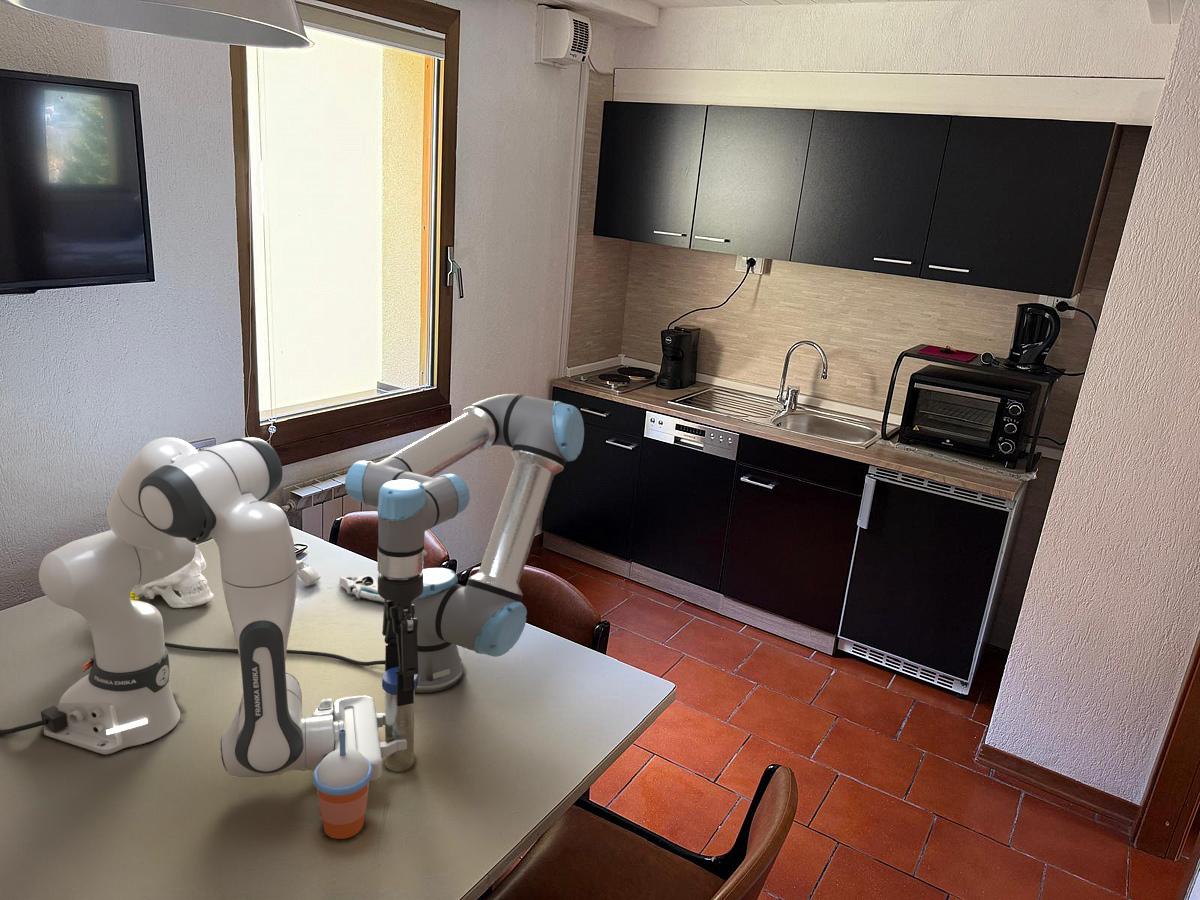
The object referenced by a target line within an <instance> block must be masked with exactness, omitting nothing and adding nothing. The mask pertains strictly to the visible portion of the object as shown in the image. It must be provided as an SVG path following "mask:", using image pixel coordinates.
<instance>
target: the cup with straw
mask: <svg viewBox="0 0 1200 900" xmlns="http://www.w3.org/2000/svg"><path fill="white" fill-rule="evenodd" d="M372 774H373V769H372V765H371V763H370V762H369V760H368V759H366V758H365V757H364V756H363V755H362V754H361V753H360V752H358V751H356V750H354V749H350V748H346V738H345V730H344V729H342V730H340V749H337V750H334V751H332V752H331V753H329V754H328V755H327V756H325V757H324V759H323V760H322V761H321V762H320V763H319V764H318V766H317V767H316V768H315V770H313V774H312V782H313V785H314V787H315V789H316V791H317V800H318V807H319V812H320V817H321V819H322V825H323V826H322V827H323V830H324V833H325V834H326V836H328V837H330V838H331V839H336V840H344V839H348V838H352V837H354V836H355V835H357V834H358V833H360V831H362V829H363V827H364V823H365V814H366V811H367V806H368V797H369V788H370V787H369V786H370V782H371V781H370V780H371V778H372Z"/></svg>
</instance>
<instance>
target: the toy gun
mask: <svg viewBox="0 0 1200 900" xmlns="http://www.w3.org/2000/svg"><path fill="white" fill-rule="evenodd" d="M338 583H339V586H340V587H341V588H343V589H345V590H346V593H347V594H348V595H354V596H355V598H356V599H361V598H362V599H365V600H369V601H375V602H380V603H384V598H382V597H381V596H380V595H379V594H378V580H376V578H375V577H374V576H372V575H369V574H368V575H362V576H361V575H360V576H350V577H345V576H340V577H339V581H338ZM367 583H370V584H369V585H366V584H367Z"/></svg>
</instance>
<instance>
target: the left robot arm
mask: <svg viewBox="0 0 1200 900" xmlns="http://www.w3.org/2000/svg"><path fill="white" fill-rule="evenodd" d="M282 479H283V466H282V461H281V459H280V457H279V455H278V453H277V451H276V450H275V448H274V447H273V446H272V445H271V444H270V443H268V442H267V441H265V440H264V439H261V438H259V437H249V436H248V437H238V438H233V439H230V440H227V441H224V442H220V443H218V444H216V445H212V446H209V447H206V448H203V449H199V450H197V449H196V448H195V447H194V446H193V445H192V444H190V443H189V442H187V441H185V440H183V439H181V438H178V437H172V436H164V437H159V438H155V439H152V440H150V441H149V442H148V443H146V444H145V445H144V446H143V447H142V448H141V449H140V450H139V451H138V453H137V454H136V455H135V456H134V457H133V458H132V460H131V461H130V462H129V464H128V465H127V466H126V469H125V471H124V472H123V474H122V476H121V477H120V479H119V482H118V484H117V487H116V488H115V491H114V493H113V495H112V497H111V499H110V501H109V503H108V506H107V509H106V520H107V523H108V526H109V528H110V529H109V530H106V531H102V532H99V533H95V534H92V535H88V536H86V537H81V538H79V539H76V540H72V541H71V542H68V543H66V544H64V545H62V546H60V547H58V548H56V549H54V550H52V551H51V552H49V553H47V554H46V555H45V556H44V557H43V559H42V561H41V563H40V565H39V570H38V581H39V585H40V588H41V590H42V592H43V594H44V595H45V596H46V597H47V598H48V599H49V600H50V601H51V602H53V604H56V605H58V606H61V607H63V608H66V609H70V610H73V611H74V612H77V613H78V614H79V615H81V616H82V618H84V619H85V621H86V623H87V624H88V626H89V630H90V632H91V637H92V642H93V646H94V655H92V656H91V658H90V660H89V661H87V662H86V663H84V665H82V667H81V668H82V673H85V672H86V671H88V670H89V669H90V670H89V673H87V674H86V675H85V676H83V677H81V678H80V679H79V680H78V681H76V682H74V683H73V684H72V685H71V686H69V687H68V689H67V690H65V692H64V693H63V694H62V695H61V697H60V699H59V701H58V705H57V706H56V705H51V706H49V707H47V708H44V709H42V710H40V718H41V720H38V721H34V722H30V723H27V724H23V725H19V726H15V727H12V728H5V729H0V736H3V735H10V734H11V735H12V734H15V733H19V732H23V731H27V730H30V729H34V728H38V727H41V726H44V727H43V735H44V736H46V737H50V738H53V739H55V740H59V741H62V742H64V743H67V744H70V745H73V746H76V747H79V748H82V749H85V750H89V751H92V752H95V753H97V754H101V755H110V754H114V753H116V752H118V751H121V750H123V749H126V748H130V747H134V746H135V747H136V746H140V745H143V744H146V743H149V742H152V741H155V740H157V739H160V738H162V737H163V736H165V735H166V734H169V732H171V731H172V730H173V729H174V728H175V727H176V726H177V725H178V723H179V721H180V720H181V710H180V709H179V707H178V705H177V703H176V700H175V697H174V694H173V691H172V687H171V683H170V660H169V651H168V647H166V646H165V643H164V642H165V632H164V631H165V630H164V620H163V616H162V614H161V612H160V611H159V610H158V608H157V607H156V606H154V605H152V604H151V603H150V602H149V603H146V602H142V601H136V600H130V592H131V591H132V590H134V589H136V588H138V587H139V586H142V585H145V584H147V583H150V582H153V581H156V580H158V579H161V578H164V577H167V576H169V575H171V574H172V573H174V572H176V571H178V570H179V569H181V568H183V567H184V566H186V565H187V564H189V563H190V562H191V561H192V560H193V558H194V555H195V551H196V545H197V544H198V543H202V542H204V541H206V540H207V539H208V538H209V536H210V538H212V539H213V541H214V542H215V544H216V545H217V547H218V552H219V560H220V561H219V562H220V563H219V564H220V575H221V576H220V577H221V584H222V590H223V594H224V595H223V596H224V599H225V600H224V601H225V603H226V604H225V605H226V608H227V612H228V615H229V620H230V624H231V627H232V631H233V635H234V639H235V643H236V647H237V648H236V649H238V652H239V653H238V656H239V660H240V671H241V680H242V682H241V683H242V696H241V699H240V701H239V705H238V707H237V711H236V713H235V716H234V717H233V719H232V721H231V722H230V725H229V726H228V727H227V728H226V729H225V730H224V731H223V732H222V733H221V738H220V754H221V756H220V757H221V762H222V766H223V767H224V770H225V772H226V773H227V774H228V775H230V776H232V777H236V778H262V777H269V776H271V777H272V776H278V775H282V774H284V773H287V772H290V771H291V772H292V771H299V772H308V771H314V770H315V768H316V767H317V766H318V764H319V763H320V762H321V761H322V760H323V759H324V757H325V756H327V755H328V754H329V753H331V752H332V751H334V750H337V749H340V730H342V729H344V730H345V738H346V748H350V749H354V750H356V751H358V752H360V753H361V754H362V755H363V756H364V757H365V758H366V759H368V760H369V762H370V763H371V765H372V769H373V774H372V778H371V780H370V782H372V781H376V780H378V779H380V778H382V776H383V759H382V758H385V757H388V756H389V755H391V754H393V753H394V752H396V751H399V750H405V749H406V748H407V740H406V737H405V736H402V737H396V740H395V741H392V742H390V743H388V744H387V743H386V742H385V741H382V742H380V734H379V728H383V727H384V726H385V712H377V709H376V702H375V698H374V697H373V696H369V695H354V696H353V695H352V696H345V697H340V698H337V699H336V700H333V699H332V698H327V697H326V698H323V699H321V700H320V701H319V702H318V705H317V707H316V708H315V710H314V712H313V713H312V715H311V716H306V717H303V693H302V689H301V685H300V682H299V681H298V679H297V678H296V677H295V676H293V675H292V674H290V673H288V672H287V670H286V669H287V668H286V659H287V654H286V650H288V649H287V648H288V643H289V637H290V632H291V627H292V620H293V617H294V616H293V615H294V611H295V606H296V599H297V592H298V591H297V589H298V576H297V562H296V560H297V555H296V553H297V552H296V548H295V542H294V536H293V533H292V529H291V526H290V522H289V520H288V517H287V514H286V513H285V512H284V510H283V509H282V508H281V507H280V506H278V505H277V504H275V503H272V502H269V501H263V500H265V499H266V498H267V497H269V496H270V495H272V494H273V493H274V492H275V491H276V490H277V489H278V488H279V486H280V485H281V483H282V481H283V480H282Z"/></svg>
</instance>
